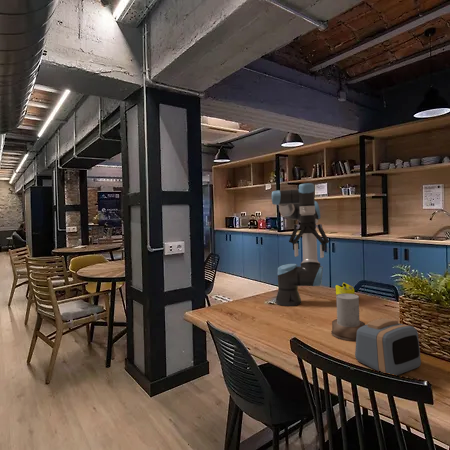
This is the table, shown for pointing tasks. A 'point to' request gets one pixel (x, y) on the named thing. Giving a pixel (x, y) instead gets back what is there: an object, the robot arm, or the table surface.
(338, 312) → the speckled grey cylinder
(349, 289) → the yellow toy chassis
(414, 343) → the alarm clock
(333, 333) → the plinth
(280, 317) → the table surface
